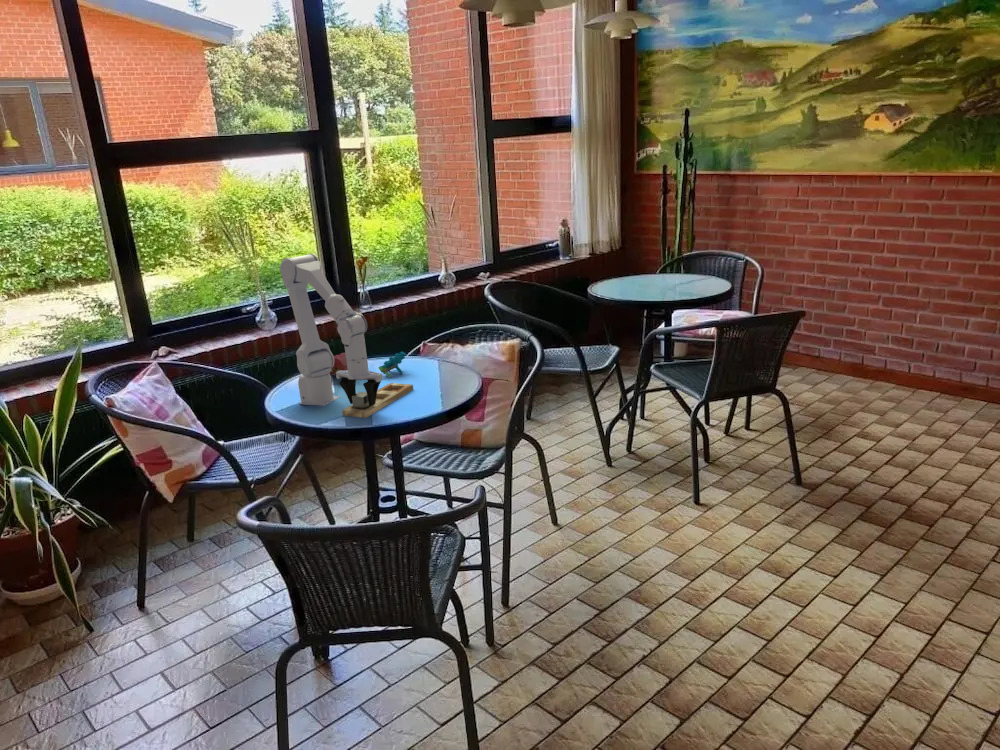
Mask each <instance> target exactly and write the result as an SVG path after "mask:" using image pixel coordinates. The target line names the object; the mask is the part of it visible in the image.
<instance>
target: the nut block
mask: <svg viewBox="0 0 1000 750" xmlns="http://www.w3.org/2000/svg"><path fill="white" fill-rule="evenodd" d="M352 402H353V409H362V410H366V409H368V408H369V407H371V406H370V405H369V402H368V396H367V392H366V391H358V392H356V394H355V395H353V396H352ZM372 406H373V405H372Z"/></svg>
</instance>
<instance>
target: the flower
mask: <svg viewBox="0 0 1000 750" xmlns="http://www.w3.org/2000/svg"><path fill="white" fill-rule="evenodd" d="M333 356H334V366H333V367H332V368H331V369H332V371H331V372H330V377H331V376H333V375H335V376H336V372H338V371H340V370H342V371H345V370H348V368H347V361H346V354H345V352H342V353H340V354H336V355H333ZM338 380H339V381H341V380H340V379H338Z"/></svg>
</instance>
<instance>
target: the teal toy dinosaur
mask: <svg viewBox="0 0 1000 750" xmlns="http://www.w3.org/2000/svg"><path fill="white" fill-rule="evenodd" d="M405 358H406V353H405V352H404V351H400V352H399V353H398V352H396V353H395V354H394V356H390V357H389V358H388V360H385V361H384V362H383V365H380V366H379V367H378V369H379V371H380V372H381V373H382V374H386V375H387V377H388V378H389V377H390V378H392V376H391V374H390V373H389V372H390V370H391V371H392V370H394V369H395V370H396V371H398V373H399V374H400V375H403V373H404V371H402V369H401V368H400V367H399V365H400V364H402V362H403V360H404V359H405ZM388 371H389V372H388Z"/></svg>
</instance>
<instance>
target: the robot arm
mask: <svg viewBox="0 0 1000 750" xmlns="http://www.w3.org/2000/svg"><path fill="white" fill-rule="evenodd" d="M322 267H323V266H322V262H321V261H320V259H319V258H318V256H317V255H316V254H315V253H308V254H303V255H299V256H293V257H286V258H284V259H282V261H281V263H280V267H279V270H280V274H281V279H282V282H283V285H284V287H285V288H286V289H287V293H288V297H289V299H290V301H289V302H290V304H291V308H292V311H293V316H294V318H295V321H296V327H297V328H298V333H299V337H300V340H301V345H300V346H299V347H298V349H297V350H296V352H295V354H296V366H297V369H298V371H299V373H300V374H301V375H299V378H298V381H297V382H298V384H297V385H298V390H299V396H300V397H299V398H300V402H299V405H304V406H305V405H306V406H311V405H313V406H321V407H322V406H326V405H328V404H329V403H332V402H333V401H336V400H337V399H339V398H340V396H337V395H334V390H333V385H332V377H331V376H330V372H331V371H332V369H331V368H332V367H333V366H334V356H335V355H334V354H333V353H332V351H331V349H330V346H329V344H328V343H326V342H325V341H322V339H320V334H319V331H318V328H317V323H316V320H315V317H314V312H313V309H312V306H311V301H310V298H309V294H308V291H307V288H308V285H311V287H312V288H313V289H314V290H315V291H316V292H317V294H319V296H320V297H321V298H322V299H323V300H324V301H325V303H324V307H325V309H326V311H327V312H328V313H329V314H330V316H331V317H332V319H333V320H334V322H335V323H336V325H337V328H336V329H337V332H338V335H339V336H340V339H341V343H342V344H343V345H344V346H343V347H344V351H345V352H344V353H345V354H346V361H347V368H348V370H345V371H342V370H340V371H338V372H336V375H335V376H336V379H337V380H339V379H341V380H339V381H338V385H339V386H340V387H341V388H342V389H343V391H344V393H345V395H346V397H347V398H348V402H349V404H351V405H352V404H353V402H352V396H353V395H355V394H357V392H356V384H357V382H356V381H357V380H358V381H359V380H360V381H366V382H364V383H363V387H364V389H365V392H367V396H368V402H369V405H370V406H372V405H374V404H375V403H376V395H377V390H379V387H380V384H381V382H382V381H383V380H384V378H383V372H381V373H379V372H375V371H372V370H369V363H368V356H367V347H366V340H365V333H366V332H367V330H368V322H367V319H366V318H365V316H364V315H363V314H362V313H359V312H357V310H353V308H352V307H351V306H350V305H349V303H348V302H347V300H346V299H345V298H344V297H343V296H342V295H341V294H337V293H336V292H335V291H334V289H333V287H332V286H331V284H330V283H329V281H328V280H327V278H326V277H325V275H324V274H323V272H322V269H323V268H322Z"/></svg>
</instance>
